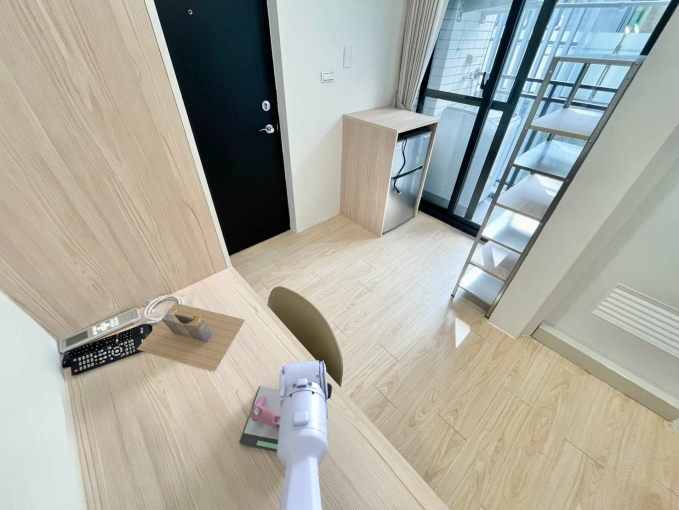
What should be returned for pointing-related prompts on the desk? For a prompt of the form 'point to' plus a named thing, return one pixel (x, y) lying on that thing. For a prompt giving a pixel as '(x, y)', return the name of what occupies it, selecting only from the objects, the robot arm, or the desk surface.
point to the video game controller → (265, 414)
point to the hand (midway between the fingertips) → (314, 426)
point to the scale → (258, 431)
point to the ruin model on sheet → (192, 336)
